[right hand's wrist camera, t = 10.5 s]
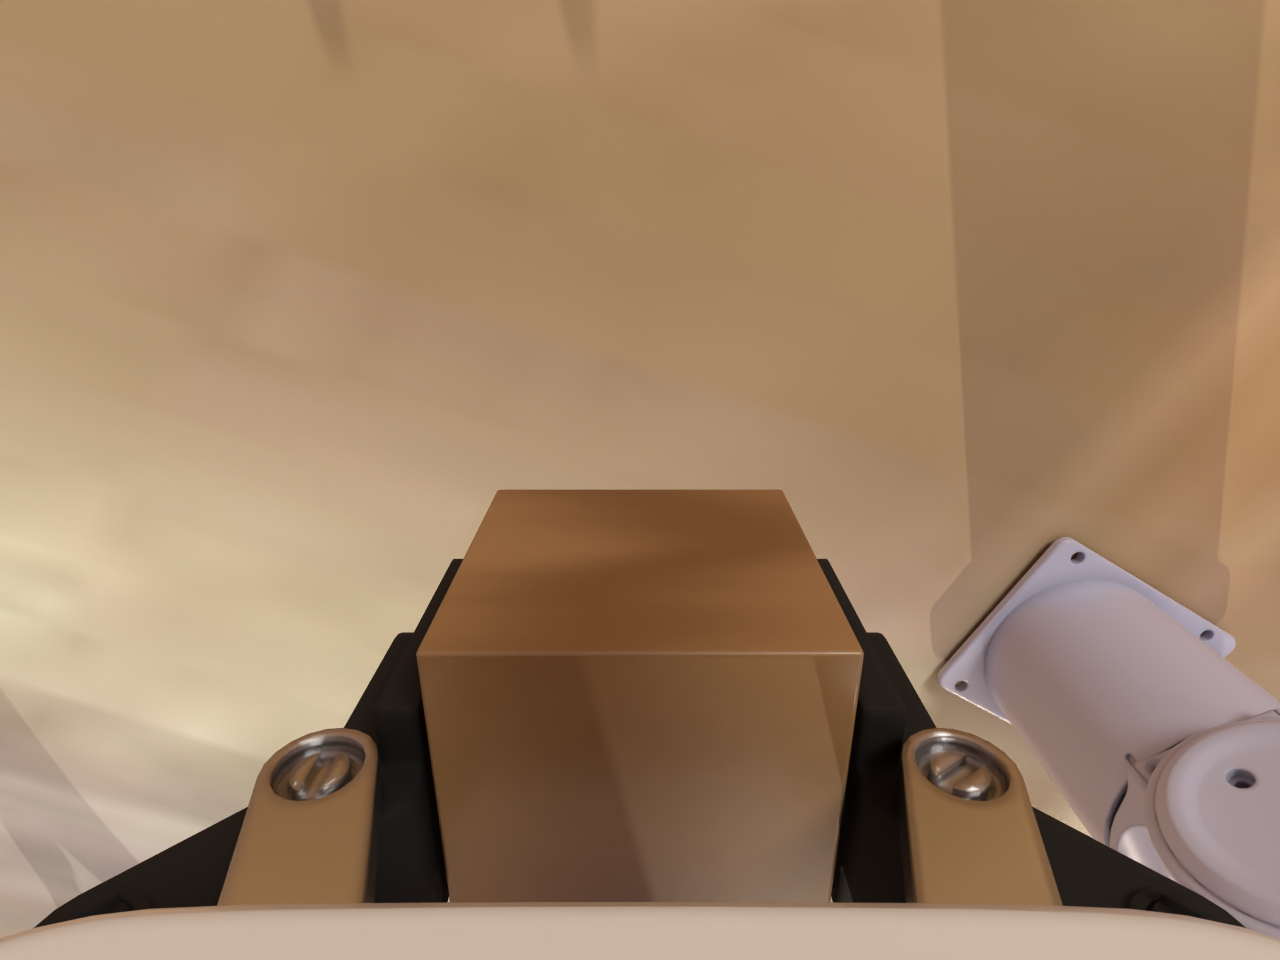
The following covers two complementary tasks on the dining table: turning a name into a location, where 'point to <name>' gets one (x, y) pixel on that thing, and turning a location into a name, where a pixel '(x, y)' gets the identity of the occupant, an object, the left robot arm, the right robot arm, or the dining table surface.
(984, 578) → the dining table surface
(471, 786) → the brown wooden cube
